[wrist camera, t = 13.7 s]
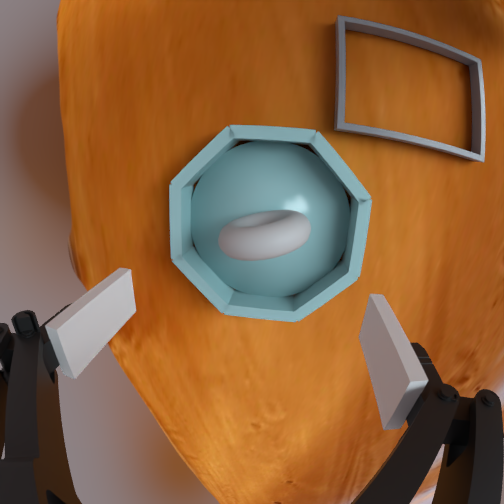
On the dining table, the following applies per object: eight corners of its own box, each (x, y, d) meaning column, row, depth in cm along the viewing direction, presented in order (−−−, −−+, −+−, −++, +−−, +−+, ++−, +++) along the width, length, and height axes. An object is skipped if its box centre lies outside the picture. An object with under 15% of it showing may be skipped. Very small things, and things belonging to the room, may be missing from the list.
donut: (231, 242, 37) (211, 272, 27) (226, 216, 36) (202, 237, 26) (310, 230, 35) (317, 257, 26) (305, 202, 34) (312, 220, 25)
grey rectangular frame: (472, 63, 24) (480, 59, 22) (474, 161, 29) (484, 162, 27) (335, 23, 26) (337, 15, 24) (333, 130, 32) (337, 128, 29)
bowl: (367, 140, 31) (377, 138, 27) (343, 308, 39) (348, 325, 35) (184, 129, 34) (171, 126, 30) (185, 292, 41) (174, 307, 37)
